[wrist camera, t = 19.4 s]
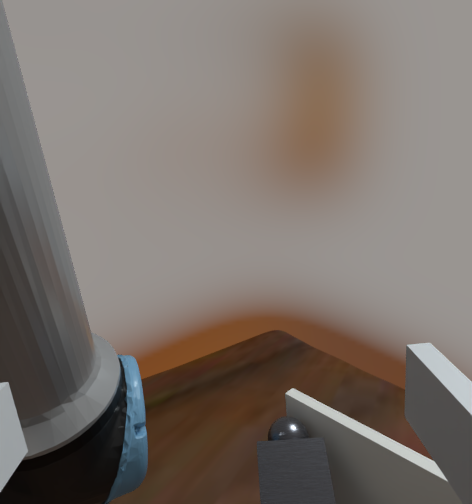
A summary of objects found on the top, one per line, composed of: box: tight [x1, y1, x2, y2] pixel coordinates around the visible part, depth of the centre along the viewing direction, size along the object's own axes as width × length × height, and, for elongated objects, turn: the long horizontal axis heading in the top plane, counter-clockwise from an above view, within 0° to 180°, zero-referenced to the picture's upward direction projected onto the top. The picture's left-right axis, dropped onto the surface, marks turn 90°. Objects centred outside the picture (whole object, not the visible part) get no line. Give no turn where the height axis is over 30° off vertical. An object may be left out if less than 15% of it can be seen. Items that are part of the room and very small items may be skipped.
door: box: [285, 388, 463, 504], centre depth 36 cm, size 17×3×14 cm, turn 42°
